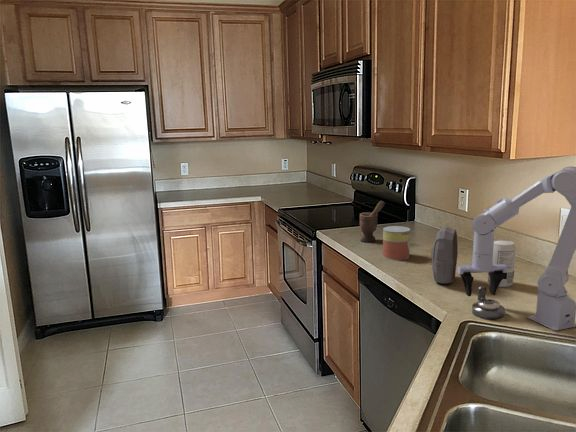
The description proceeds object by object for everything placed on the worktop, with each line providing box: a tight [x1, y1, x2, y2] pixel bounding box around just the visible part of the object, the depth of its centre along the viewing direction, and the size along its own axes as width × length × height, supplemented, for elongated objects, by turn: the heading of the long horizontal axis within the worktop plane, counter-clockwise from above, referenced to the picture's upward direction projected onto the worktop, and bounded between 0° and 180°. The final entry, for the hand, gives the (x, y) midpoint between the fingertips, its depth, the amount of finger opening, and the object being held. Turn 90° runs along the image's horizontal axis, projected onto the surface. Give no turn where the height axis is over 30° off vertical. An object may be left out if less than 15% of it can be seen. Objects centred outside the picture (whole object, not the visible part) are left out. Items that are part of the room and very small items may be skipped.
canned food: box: [382, 225, 411, 261], centre depth 202 cm, size 11×11×12 cm
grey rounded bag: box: [430, 226, 459, 284], centre depth 170 cm, size 15×8×20 cm, turn 153°
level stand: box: [471, 301, 506, 321], centre depth 142 cm, size 9×9×2 cm
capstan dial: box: [477, 285, 501, 310], centre depth 143 cm, size 10×6×4 cm, turn 179°
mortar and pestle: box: [359, 200, 386, 243], centre depth 227 cm, size 12×9×20 cm
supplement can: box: [487, 239, 517, 288], centre depth 165 cm, size 8×8×15 cm
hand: (480, 294), depth 147 cm, fingers open, 7 cm apart
